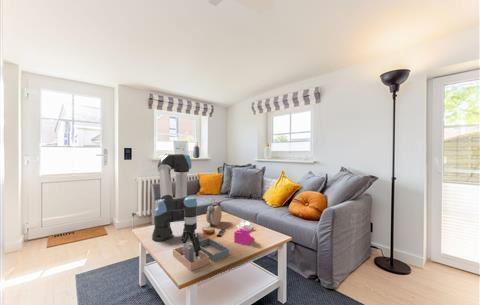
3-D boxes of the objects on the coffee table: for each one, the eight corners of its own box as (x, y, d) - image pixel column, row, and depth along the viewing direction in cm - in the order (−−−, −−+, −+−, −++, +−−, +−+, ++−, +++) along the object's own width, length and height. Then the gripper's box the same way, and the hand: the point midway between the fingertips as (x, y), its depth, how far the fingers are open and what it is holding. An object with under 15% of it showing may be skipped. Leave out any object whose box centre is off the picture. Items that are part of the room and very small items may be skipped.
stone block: (184, 259, 131) (184, 246, 131) (192, 256, 134) (192, 243, 134) (188, 262, 127) (188, 249, 127) (196, 259, 130) (196, 246, 130)
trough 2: (193, 248, 145) (193, 242, 145) (208, 243, 153) (208, 237, 153) (213, 261, 128) (213, 255, 128) (228, 255, 136) (228, 248, 136)
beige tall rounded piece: (212, 221, 201) (212, 197, 201) (221, 222, 199) (221, 197, 199) (204, 227, 185) (204, 201, 185) (214, 228, 182) (214, 201, 182)
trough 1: (172, 255, 135) (172, 249, 135) (190, 249, 143) (190, 243, 143) (190, 270, 118) (190, 263, 118) (209, 263, 126) (209, 256, 126)
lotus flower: (234, 227, 186) (234, 217, 186) (251, 227, 187) (252, 217, 187) (235, 233, 172) (235, 223, 171) (253, 233, 172) (253, 222, 172)
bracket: (247, 245, 150) (247, 230, 150) (234, 242, 155) (234, 228, 155) (253, 239, 161) (253, 225, 161) (241, 236, 166) (241, 223, 166)
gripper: (175, 219, 137) (175, 251, 137) (195, 229, 119) (195, 267, 119) (186, 216, 142) (186, 248, 142) (206, 226, 124) (206, 263, 124)
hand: (190, 257), depth 130 cm, fingers open, 13 cm apart
